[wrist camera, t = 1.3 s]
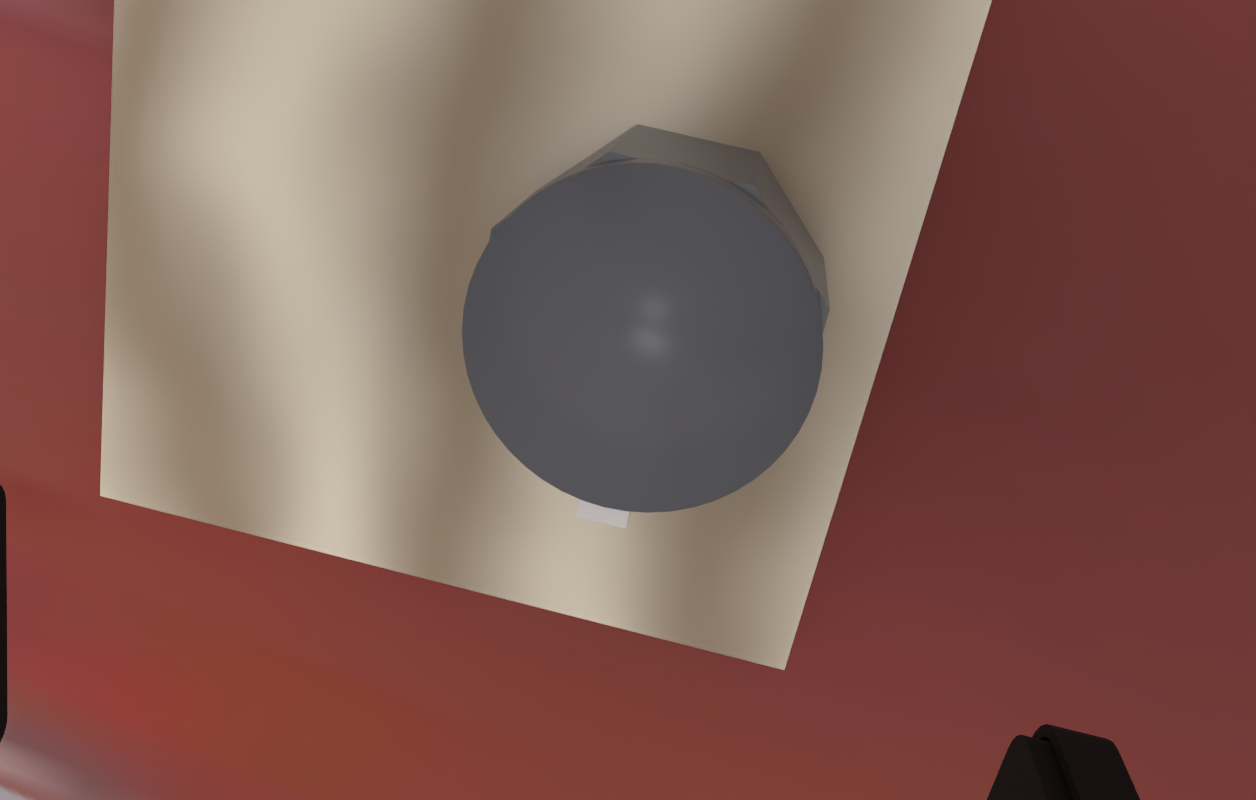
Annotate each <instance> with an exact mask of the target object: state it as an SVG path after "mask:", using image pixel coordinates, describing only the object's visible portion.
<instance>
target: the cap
mask: <svg viewBox="0 0 1256 800" xmlns="http://www.w3.org/2000/svg"><path fill="white" fill-rule="evenodd" d="M829 310H830V306H829V297H828V288H827V280H826V271H825V263H824V257H823V256H822V254H821V252H820V251H819V249H818V247H817V246H816V244H815V242H814V241H813V239H812V237H811V236H810V234H809V232H808V231H807V229H806V227H805V226H804V224H803V222H802V221H801V219H800V217H799V216H798V214H797V213H796V211H795V209H794V208H793V206H792V204H791V203H790V201H789V199H788V198H787V196H786V194H785V193H784V191H783V189H782V188H781V186H780V184H779V183H778V181H777V179H776V178H775V176H774V174H773V173H772V171H771V169H770V168H769V166H768V164H767V163H766V161H765V159H764V158H763V156H762V154H761V153H760V152H757V151H752V150H748V149H744V148H739V147H735V146H731V145H726V144H722V143H718V142H713V141H709V140H705V139H700V138H696V137H692V136H687V135H683V134H679V133H674V132H670V131H666V130H661V129H657V128H653V127H648V126H644V125H640V124H637V125H635V126H634V127H632V128H631V129H629V130H628V131H626V132H625V133H623V134H622V135H620V136H619V137H617V138H616V139H614V140H613V141H611V142H610V143H608V144H606V145H605V146H603V147H602V148H600V149H599V150H597V151H596V152H594V153H593V154H591V155H590V156H588V157H587V158H585V159H584V160H582V161H581V162H579V163H578V164H576V165H575V166H573V167H572V168H570V169H569V170H567V171H565V172H564V173H562V174H561V175H559V176H558V177H556V178H555V179H553V180H552V181H550V182H549V183H547V184H546V185H544V186H543V187H541V188H540V189H538V190H536V191H535V192H534V193H533V194H532V195H531V196H529V197H528V198H527V199H526V200H525V201H523V202H522V203H521V204H520V205H519V206H518V207H516V208H515V209H514V210H513V211H512V212H510V213H509V214H508V215H507V216H506V217H504V218H503V219H502V220H501V221H500V222H499V223H497V224H496V225H495V226H494V227H493V228H491V233H490V239H489V242H488V244H487V246H486V248H485V249H484V251H483V253H482V255H481V257H480V259H479V260H478V262H477V264H476V267H475V270H474V272H473V275H472V277H471V280H470V283H469V286H468V290H467V295H466V299H465V303H464V310H463V321H462V343H463V354H464V360H465V366H466V371H467V375H468V378H469V381H470V384H471V388H472V391H473V394H474V396H475V398H476V400H477V403H478V405H479V407H480V409H481V411H482V413H483V415H484V417H485V418H486V420H487V422H488V423H489V425H490V426H491V428H492V430H493V431H494V433H495V434H496V435H497V437H498V438H499V439H500V440H501V442H502V443H503V444H504V445H505V447H506V448H507V449H508V450H509V451H510V452H511V453H512V454H513V455H514V456H515V457H516V458H517V459H518V460H519V461H520V462H521V463H522V464H523V465H524V466H525V467H526V468H528V469H529V470H530V471H532V472H533V473H534V474H536V475H537V476H538V477H540V478H541V479H542V480H544V481H545V482H547V483H549V484H550V485H552V486H554V487H556V488H557V489H559V490H561V491H562V492H565V493H567V494H569V495H571V496H574V497H576V498H578V499H580V501H579V505H578V510H577V515H576V517H580V518H584V519H588V520H592V521H596V522H600V523H604V524H608V525H612V526H616V527H620V528H624V529H626V526H627V523H628V520H629V516H630V513H631V512H645V513H653V512H671V511H677V510H683V509H688V508H693V507H697V506H700V505H703V504H707V503H710V502H713V501H716V500H718V499H720V498H722V497H725V496H727V495H729V494H731V493H733V492H735V491H737V490H739V489H740V488H742V487H743V486H745V485H747V484H748V483H750V482H752V481H753V480H754V479H756V478H757V477H758V476H759V475H761V474H762V473H763V472H764V471H766V470H767V469H768V468H769V467H771V465H772V464H773V463H774V462H775V461H776V460H777V459H778V458H779V457H780V456H781V455H782V454H783V453H784V452H785V451H786V449H787V448H788V447H789V445H790V444H791V442H792V441H793V440H794V438H795V437H796V436H797V434H798V433H799V431H800V429H801V427H802V425H803V423H804V422H805V420H806V418H807V416H808V414H809V412H810V409H811V406H812V404H813V401H814V398H815V396H816V393H817V389H818V384H819V380H820V375H821V370H822V359H823V331H824V328H825V324H826V321H827V317H828V314H829Z"/></svg>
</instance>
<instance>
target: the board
mask: <svg viewBox="0 0 1256 800" xmlns="http://www.w3.org/2000/svg"><path fill="white" fill-rule="evenodd" d="M991 2H992V0H114V30H113V65H112V99H111V134H110V168H109V203H108V238H107V272H106V307H105V341H104V376H103V411H102V445H101V480H100V496H103V497H107V498H111V499H114V500H118V501H122V502H126V503H130V504H134V505H138V506H142V507H146V508H150V509H154V510H158V511H162V512H166V513H169V514H173V515H177V516H181V517H185V518H189V519H193V520H197V521H201V522H205V523H209V524H213V525H217V526H220V527H224V528H228V529H232V530H236V531H240V532H244V533H248V534H252V535H256V536H260V537H264V538H268V539H271V540H275V541H279V542H283V543H287V544H291V545H295V546H299V547H303V548H307V549H311V550H315V551H319V552H323V553H326V554H330V555H334V556H338V557H342V558H346V559H350V560H354V561H358V562H362V563H366V564H370V565H374V566H377V567H381V568H385V569H389V570H393V571H397V572H401V573H405V574H409V575H413V576H417V577H421V578H425V579H428V580H432V581H436V582H440V583H444V584H448V585H452V586H456V587H460V588H464V589H468V590H472V591H476V592H479V593H483V594H487V595H491V596H495V597H499V598H503V599H507V600H511V601H515V602H519V603H523V604H527V605H531V606H534V607H538V608H542V609H546V610H550V611H554V612H558V613H562V614H566V615H570V616H574V617H578V618H582V619H585V620H589V621H593V622H597V623H601V624H605V625H609V626H613V627H617V628H621V629H625V630H629V631H633V632H636V633H640V634H644V635H648V636H652V637H656V638H660V639H664V640H668V641H672V642H676V643H680V644H684V645H688V646H691V647H695V648H699V649H703V650H707V651H711V652H715V653H719V654H723V655H727V656H731V657H735V658H739V659H742V660H746V661H750V662H754V663H758V664H762V665H766V666H770V667H774V668H778V669H782V670H784V669H785V666H786V663H787V660H788V656H789V653H790V650H791V647H792V644H793V640H794V637H795V634H796V631H797V627H798V624H799V621H800V618H801V614H802V611H803V608H804V605H805V602H806V598H807V595H808V592H809V589H810V585H811V582H812V579H813V576H814V573H815V569H816V566H817V563H818V560H819V556H820V553H821V550H822V547H823V544H824V540H825V537H826V534H827V531H828V527H829V524H830V521H831V518H832V514H833V511H834V508H835V505H836V502H837V498H838V495H839V492H840V489H841V485H842V482H843V479H844V476H845V473H846V469H847V466H848V463H849V460H850V456H851V453H852V450H853V447H854V444H855V440H856V437H857V434H858V431H859V427H860V424H861V421H862V418H863V414H864V411H865V408H866V405H867V402H868V398H869V395H870V392H871V389H872V385H873V382H874V379H875V376H876V373H877V369H878V366H879V363H880V360H881V356H882V353H883V350H884V347H885V344H886V340H887V337H888V334H889V331H890V327H891V324H892V321H893V318H894V315H895V311H896V308H897V305H898V302H899V298H900V295H901V292H902V289H903V285H904V282H905V279H906V276H907V273H908V269H909V266H910V263H911V260H912V256H913V253H914V250H915V247H916V244H917V240H918V237H919V234H920V231H921V227H922V224H923V221H924V218H925V215H926V211H927V208H928V205H929V202H930V198H931V195H932V192H933V189H934V185H935V182H936V179H937V176H938V173H939V169H940V166H941V163H942V160H943V156H944V153H945V150H946V147H947V144H948V140H949V137H950V134H951V131H952V127H953V124H954V121H955V118H956V115H957V111H958V108H959V105H960V102H961V98H962V95H963V92H964V89H965V85H966V82H967V79H968V76H969V73H970V69H971V66H972V63H973V60H974V56H975V53H976V50H977V47H978V44H979V40H980V37H981V34H982V31H983V27H984V24H985V21H986V18H987V15H988V11H989V8H990V5H991ZM637 124H640V125H644V126H648V127H653V128H657V129H661V130H666V131H670V132H674V133H679V134H683V135H687V136H692V137H696V138H700V139H705V140H709V141H713V142H718V143H722V144H726V145H731V146H735V147H739V148H744V149H748V150H752V151H757V152H760V153H761V154H762V156H763V158H764V159H765V161H766V163H767V164H768V166H769V168H770V169H771V171H772V173H773V174H774V176H775V178H776V179H777V181H778V183H779V184H780V186H781V188H782V189H783V191H784V193H785V194H786V196H787V198H788V199H789V201H790V203H791V204H792V206H793V208H794V209H795V211H796V213H797V214H798V216H799V217H800V219H801V221H802V222H803V224H804V226H805V227H806V229H807V231H808V232H809V234H810V236H811V237H812V239H813V241H814V242H815V244H816V246H817V247H818V249H819V251H820V252H821V254H822V256H823V257H824V263H825V271H826V280H827V288H828V297H829V306H830V310H829V314H828V317H827V321H826V324H825V328H824V331H823V359H822V370H821V375H820V380H819V384H818V389H817V393H816V396H815V398H814V401H813V404H812V406H811V409H810V412H809V414H808V416H807V418H806V420H805V422H804V423H803V425H802V427H801V429H800V431H799V433H798V434H797V436H796V437H795V438H794V440H793V441H792V442H791V444H790V445H789V447H788V448H787V449H786V451H785V452H784V453H783V454H782V455H781V456H780V457H779V458H778V459H777V460H776V461H775V462H774V463H773V464H772V465H771V467H769V468H768V469H767V470H766V471H764V472H763V473H762V474H761V475H759V476H758V477H757V478H756V479H754V480H753V481H752V482H750V483H748V484H747V485H745V486H743V487H742V488H740V489H739V490H737V491H735V492H733V493H731V494H729V495H727V496H725V497H722V498H720V499H718V500H716V501H713V502H710V503H707V504H703V505H700V506H697V507H693V508H688V509H683V510H677V511H671V512H653V513H645V512H631V513H630V516H629V520H628V523H627V526H626V529H624V528H620V527H616V526H612V525H608V524H604V523H600V522H596V521H592V520H588V519H584V518H580V517H576V515H577V510H578V505H579V501H580V499H578V498H576V497H574V496H571V495H569V494H567V493H565V492H562V491H561V490H559V489H557V488H556V487H554V486H552V485H550V484H549V483H547V482H545V481H544V480H542V479H541V478H540V477H538V476H537V475H536V474H534V473H533V472H532V471H530V470H529V469H528V468H526V467H525V466H524V465H523V464H522V463H521V462H520V461H519V460H518V459H517V458H516V457H515V456H514V455H513V454H512V453H511V452H510V451H509V450H508V449H507V448H506V447H505V445H504V444H503V443H502V442H501V440H500V439H499V438H498V437H497V435H496V434H495V433H494V431H493V430H492V428H491V426H490V425H489V423H488V422H487V420H486V418H485V417H484V415H483V413H482V411H481V409H480V407H479V405H478V403H477V400H476V398H475V396H474V394H473V391H472V388H471V384H470V381H469V378H468V375H467V371H466V366H465V360H464V354H463V343H462V321H463V310H464V303H465V299H466V295H467V290H468V286H469V283H470V280H471V277H472V275H473V272H474V270H475V267H476V264H477V262H478V260H479V259H480V257H481V255H482V253H483V251H484V249H485V248H486V246H487V244H488V242H489V239H490V233H491V228H493V227H494V226H495V225H496V224H497V223H499V222H500V221H501V220H502V219H503V218H504V217H506V216H507V215H508V214H509V213H510V212H512V211H513V210H514V209H515V208H516V207H518V206H519V205H520V204H521V203H522V202H523V201H525V200H526V199H527V198H528V197H529V196H531V195H532V194H533V193H534V192H535V191H536V190H538V189H540V188H541V187H543V186H544V185H546V184H547V183H549V182H550V181H552V180H553V179H555V178H556V177H558V176H559V175H561V174H562V173H564V172H565V171H567V170H569V169H570V168H572V167H573V166H575V165H576V164H578V163H579V162H581V161H582V160H584V159H585V158H587V157H588V156H590V155H591V154H593V153H594V152H596V151H597V150H599V149H600V148H602V147H603V146H605V145H606V144H608V143H610V142H611V141H613V140H614V139H616V138H617V137H619V136H620V135H622V134H623V133H625V132H626V131H628V130H629V129H631V128H632V127H634V126H635V125H637Z"/></svg>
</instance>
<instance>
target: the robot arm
mask: <svg viewBox="0 0 1256 800" xmlns="http://www.w3.org/2000/svg"><path fill="white" fill-rule="evenodd" d="M6 724H7V588H6V498H5V492H4V490H3V488H2V486H1V485H0V742H1V739H2V737H3V735H4V732H5V728H6ZM987 800H1140V799H1139V796H1138V794H1137V792H1136V790H1135V787H1134V785H1133V783H1132V780H1131V778H1130V776H1129V774H1128V771H1127V769H1126V767H1125V765H1124V762H1123V760H1122V758H1121V756H1120V753H1119V751H1118V749H1117V748H1116V746H1115V745H1114V743H1113V742H1112V741H1110V740H1108V739H1105V738H1101V737H1097V736H1093V735H1089V734H1085V733H1081V732H1077V731H1073V730H1069V729H1064V728H1060V727H1056V726H1052V725H1048V724H1046V725H1042V726H1040V727H1039V728H1038V730H1037V731H1036V732H1035V733H1034V735H1033V737H1028V736H1024V735H1019V736H1016V737H1015V738H1014V739H1013V741H1012V742H1011V744H1010V746H1009V748H1008V750H1007V753H1006V755H1005V758H1004V760H1003V762H1002V765H1001V767H1000V770H999V772H998V774H997V777H996V779H995V782H994V784H993V786H992V789H991V791H990V794H989V796H988V798H987Z"/></svg>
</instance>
